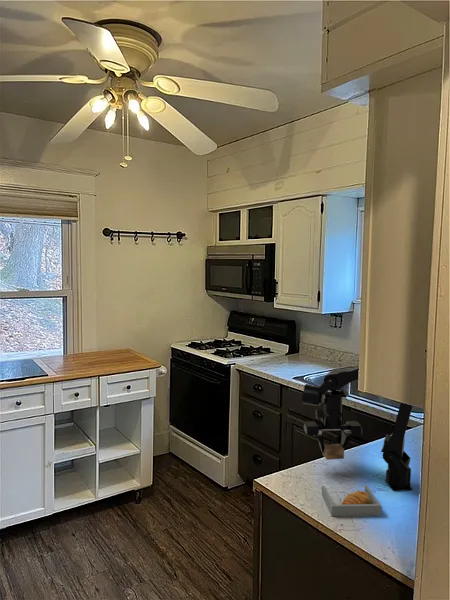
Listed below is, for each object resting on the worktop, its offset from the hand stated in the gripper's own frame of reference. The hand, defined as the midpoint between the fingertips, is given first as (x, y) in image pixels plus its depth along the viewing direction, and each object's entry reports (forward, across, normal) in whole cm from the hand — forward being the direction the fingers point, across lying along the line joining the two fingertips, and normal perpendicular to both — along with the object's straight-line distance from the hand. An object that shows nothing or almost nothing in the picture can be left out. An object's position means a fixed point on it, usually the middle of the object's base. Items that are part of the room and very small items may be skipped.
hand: (332, 452), depth 156 cm
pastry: (+7, -2, +22) cm, 23 cm away
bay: (+7, 0, +21) cm, 22 cm away
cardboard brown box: (+1, 0, +1) cm, 1 cm away
